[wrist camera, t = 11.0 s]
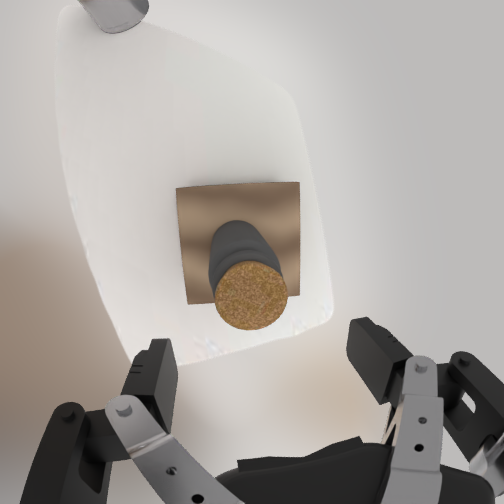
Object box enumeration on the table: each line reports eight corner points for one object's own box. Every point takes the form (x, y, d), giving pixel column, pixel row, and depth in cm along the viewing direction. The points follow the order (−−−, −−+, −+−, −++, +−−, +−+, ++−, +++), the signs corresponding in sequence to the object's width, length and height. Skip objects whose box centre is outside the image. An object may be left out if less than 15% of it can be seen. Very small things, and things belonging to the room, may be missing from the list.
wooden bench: (185, 186, 38) (175, 188, 29) (282, 181, 39) (299, 182, 31) (193, 279, 42) (187, 304, 33) (283, 272, 43) (299, 295, 34)
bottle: (235, 208, 31) (251, 235, 16) (272, 243, 32) (314, 295, 18) (200, 246, 31) (186, 302, 17) (237, 278, 33) (252, 352, 18)
